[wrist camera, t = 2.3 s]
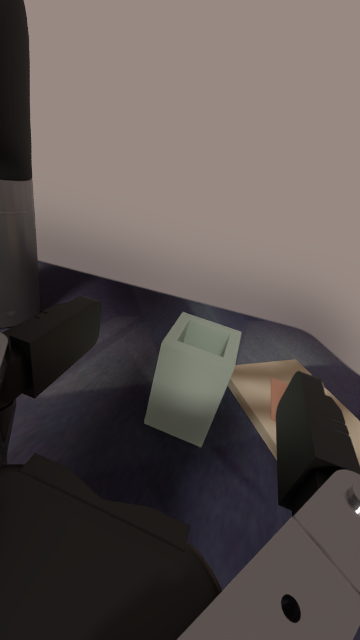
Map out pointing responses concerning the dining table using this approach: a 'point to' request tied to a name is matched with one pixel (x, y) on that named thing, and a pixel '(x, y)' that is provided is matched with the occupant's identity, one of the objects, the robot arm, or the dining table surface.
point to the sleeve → (191, 377)
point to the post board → (275, 398)
